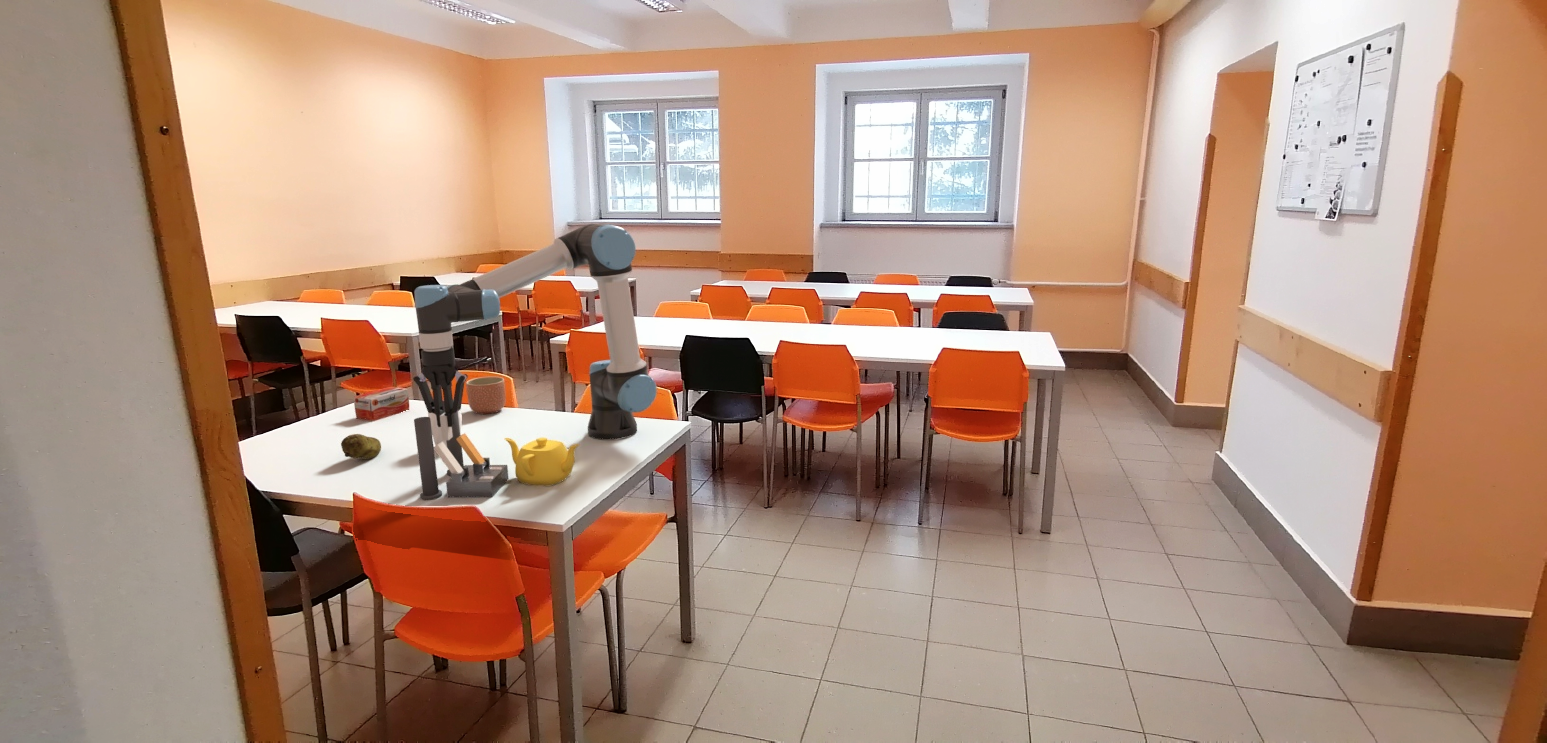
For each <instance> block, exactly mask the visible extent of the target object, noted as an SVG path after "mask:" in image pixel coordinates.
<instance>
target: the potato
mask: <svg viewBox="0 0 1547 743" xmlns="http://www.w3.org/2000/svg"><path fill="white" fill-rule="evenodd" d="M340 445H341V446H340V447H341V450H342V452H343V453H344V457H345V458H353V459H362V460H363V459H364V460H365V459H366V460H368V459H373V458H375V457H376V456H378V455H379V454H380V453H381V449H382V444H381V441H380V439H377V438H376V437H371V436H366V435H364V434H360V433H353V434H349V435H348V436H345V437H344V438H343V439H342V440H341V443H340Z"/></svg>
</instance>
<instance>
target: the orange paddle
mask: <svg viewBox="0 0 1547 743" xmlns="http://www.w3.org/2000/svg"><path fill="white" fill-rule="evenodd" d="M456 440H457V441H458V443H459V444H460V445H461V447H462V450H463V451H464V452H465V454H466V455H467V456H468V458H469V460H470V461H471V463H472V464H483V467H485V466H486V465H487V462H486V461H485V460H484V459H483V458H484V457H483V456H482V455H481V454H480V452H479V451H478V449H477V448H476V446H475V445H474V443H472V441H471V440H470V438H469V437H468V435H467V434H466V432H464V433H461V436H459V437H458V438H457V439H456Z"/></svg>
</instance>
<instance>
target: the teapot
mask: <svg viewBox="0 0 1547 743" xmlns="http://www.w3.org/2000/svg"><path fill="white" fill-rule="evenodd" d="M504 440H505V441H506V442H507V443H508V444H509V445H510V449H511V456H512V461H513V463H514V465H515V468H514V469H515V471H514V473H515V477H516V479H517V480H518V481H519V482H520V484H521V483H522V484H524V483H525V485H529V484H530V486H538V485H548V486H553V485H552V484H555V485H557V484H556V483H558V484H560V483H562V482H563V481H564V480H566V479H567V478H568V477H570V475H571V473H572V471H573V467H574V465H575V451H576V449H577V447H579V446H580V443H577V444H576V443H575V444H572V445H570V446H569V448H567V447H566V445H565V444H564V442H562V441H559V440H554V439H548V438H547V437H539V438H536V439H535V440H532V441H529V442H528V443H526V444H524V445H523V446H521V447H520V449H519V446H518V444H517V442H516V440H514V439H512V438H508V437H504ZM565 478H566V479H565ZM562 480H563V481H562ZM559 482H560V483H559Z"/></svg>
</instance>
